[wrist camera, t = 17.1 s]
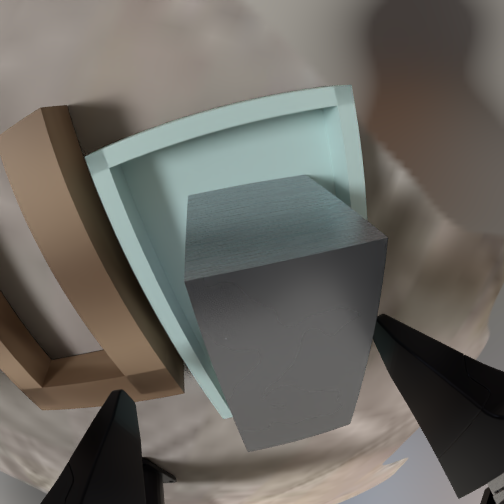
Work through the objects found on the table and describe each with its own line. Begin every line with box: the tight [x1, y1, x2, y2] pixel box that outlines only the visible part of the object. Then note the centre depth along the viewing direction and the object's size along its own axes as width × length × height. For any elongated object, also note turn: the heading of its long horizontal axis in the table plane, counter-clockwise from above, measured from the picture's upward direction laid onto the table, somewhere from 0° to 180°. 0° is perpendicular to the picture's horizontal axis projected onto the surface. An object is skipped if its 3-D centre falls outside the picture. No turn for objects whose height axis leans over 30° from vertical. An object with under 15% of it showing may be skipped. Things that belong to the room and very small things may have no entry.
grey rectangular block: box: [184, 175, 388, 452], centre depth 9 cm, size 8×4×5 cm, turn 7°
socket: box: [0, 105, 184, 410], centre depth 10 cm, size 12×9×2 cm
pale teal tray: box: [85, 85, 367, 419], centre depth 11 cm, size 14×8×2 cm, turn 13°
